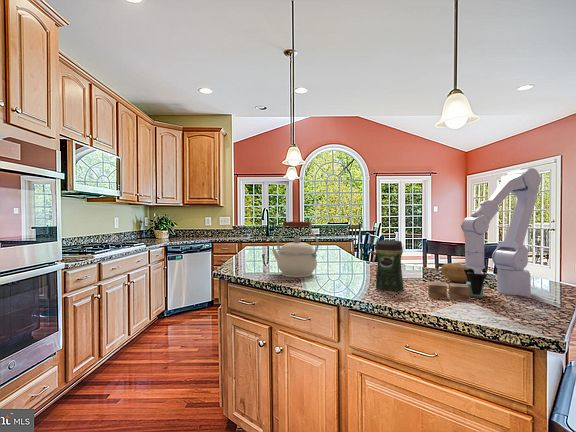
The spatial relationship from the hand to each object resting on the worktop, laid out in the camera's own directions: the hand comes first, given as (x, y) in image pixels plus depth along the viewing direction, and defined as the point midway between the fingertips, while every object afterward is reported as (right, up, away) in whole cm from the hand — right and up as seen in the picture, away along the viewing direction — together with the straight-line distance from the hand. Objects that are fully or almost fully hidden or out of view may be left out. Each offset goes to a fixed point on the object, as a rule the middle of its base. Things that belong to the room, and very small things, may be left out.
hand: (474, 291), depth 118 cm
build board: (-8, -2, -2) cm, 8 cm away
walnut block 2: (-7, -1, -4) cm, 8 cm away
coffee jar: (-26, -2, +11) cm, 28 cm away
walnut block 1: (-13, -1, -2) cm, 13 cm away
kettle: (-61, -2, +44) cm, 75 cm away
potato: (+7, -2, +25) cm, 26 cm away
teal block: (0, -1, 0) cm, 1 cm away
